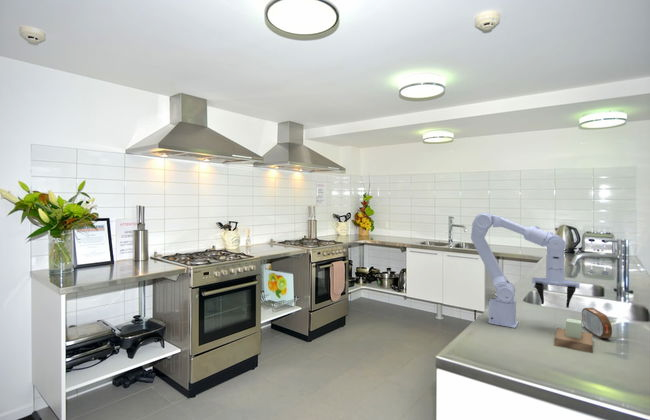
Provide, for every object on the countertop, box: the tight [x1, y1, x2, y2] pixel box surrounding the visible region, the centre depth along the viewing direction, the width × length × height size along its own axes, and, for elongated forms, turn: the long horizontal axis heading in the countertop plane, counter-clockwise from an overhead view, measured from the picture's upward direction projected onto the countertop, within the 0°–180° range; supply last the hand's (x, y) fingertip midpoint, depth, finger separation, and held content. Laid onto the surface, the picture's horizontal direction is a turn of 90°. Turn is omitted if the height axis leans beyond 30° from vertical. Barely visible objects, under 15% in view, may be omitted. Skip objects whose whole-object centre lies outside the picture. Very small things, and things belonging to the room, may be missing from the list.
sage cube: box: [565, 318, 583, 339], centre depth 118 cm, size 4×4×5 cm
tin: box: [581, 307, 613, 340], centre depth 127 cm, size 15×3×8 cm, turn 168°
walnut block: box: [554, 327, 594, 354], centre depth 119 cm, size 10×12×3 cm
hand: (554, 305), depth 130 cm, fingers open, 7 cm apart
